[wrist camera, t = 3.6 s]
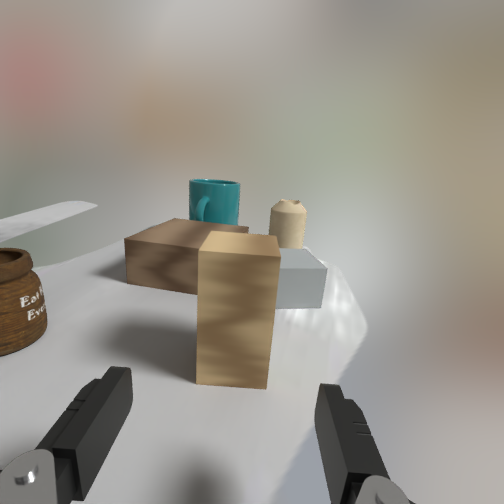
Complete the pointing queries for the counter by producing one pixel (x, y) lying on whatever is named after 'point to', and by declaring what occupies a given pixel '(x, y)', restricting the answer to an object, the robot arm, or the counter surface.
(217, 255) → the oak pillar
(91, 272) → the counter surface
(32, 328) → the utensil holder
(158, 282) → the walnut block
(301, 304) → the grey block
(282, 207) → the candle
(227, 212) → the cup
